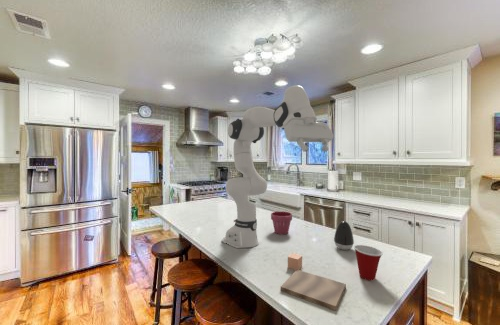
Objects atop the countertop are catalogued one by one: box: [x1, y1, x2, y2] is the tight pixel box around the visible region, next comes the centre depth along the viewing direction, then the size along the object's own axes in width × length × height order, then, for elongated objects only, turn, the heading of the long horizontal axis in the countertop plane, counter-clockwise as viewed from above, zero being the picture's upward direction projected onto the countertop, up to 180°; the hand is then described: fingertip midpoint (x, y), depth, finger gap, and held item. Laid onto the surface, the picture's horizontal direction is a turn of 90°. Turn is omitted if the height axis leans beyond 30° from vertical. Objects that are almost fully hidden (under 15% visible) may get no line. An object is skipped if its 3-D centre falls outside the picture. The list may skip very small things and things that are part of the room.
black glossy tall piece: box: [333, 220, 355, 251], centre depth 126 cm, size 10×10×15 cm
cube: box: [287, 252, 303, 271], centre depth 104 cm, size 5×5×5 cm
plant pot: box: [270, 210, 293, 235], centre depth 153 cm, size 14×14×13 cm
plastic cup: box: [353, 244, 384, 281], centre depth 95 cm, size 11×11×12 cm
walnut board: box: [280, 269, 347, 312], centre depth 86 cm, size 20×16×2 cm
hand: (316, 150), depth 83 cm, fingers open, 8 cm apart
